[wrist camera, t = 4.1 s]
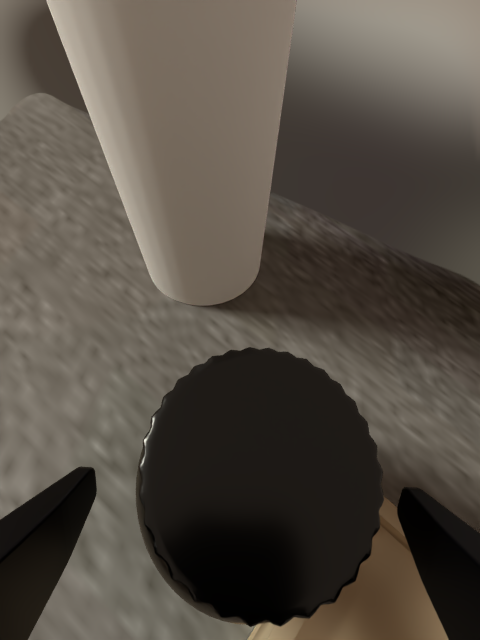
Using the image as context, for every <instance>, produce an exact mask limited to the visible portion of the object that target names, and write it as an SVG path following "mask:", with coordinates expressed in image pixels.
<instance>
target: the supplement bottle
mask: <svg viewBox="0 0 480 640" xmlns="http://www.w3.org/2000/svg"><path fill="white" fill-rule="evenodd" d="M382 474H383V471H382V468H381V466H380V464H379V462H378V460H377V445H376V444H375V442H374V440H373V439H372V438H371V436H370V435H369V428H368V423H367V421H366V420H365V419H364V418H363V417H362V416H361V415H360V414H359V412H358V409H357V406H356V403H355V401H354V400H353V399H351V398H350V397H349V396H347V395H346V394H345V392H344V390H343V388H342V386H341V384H339V383H338V382H336V381H334V380H332V379H330V377H329V376H328V374H327V373H326V372H325V371H324V370H323V369H320V368H317V367H314V366H313V365H312V364H311V363H310V362H309V361H308V360H307V359H303V358H296V357H295V356H293V355H292V354H290V353H289V352H277V351H275V350H273V349H270V348H265V349H261V350H258V349H255V348H251V347H249V348H246V349H244V350H241V351H237V350H230V351H228V352H226V353H225V354H224V355H220V356H212V357H211V358H210V359H208V361H207V362H206V363H204V364H200V365H197V366H194V367H193V369H192V370H191V372H190V373H189V375H187V376H184V377H182V378H180V379H179V380H178V381H177V383H176V385H175V387H174V389H173V390H172V391H170V392H169V393H168V394H166V395H165V396H164V397H163V400H162V405H161V408H160V409H159V410H158V411H156V412H155V414H154V415H153V416H152V418H151V428H150V431H149V432H148V433H147V434H146V436H145V438H144V440H143V449H142V452H141V456H140V460H139V464H138V471H137V478H136V507H137V515H138V521H139V525H140V530H141V533H142V537H143V540H144V543H145V546H146V548H147V550H148V553H149V555H150V557H151V559H152V561H153V563H154V564H155V566H156V568H157V570H158V571H159V573H160V574H161V576H162V577H163V578H164V580H165V581H166V582H167V584H168V585H169V586H170V587H171V588H172V589H173V590H174V591H175V593H177V594H178V595H179V596H180V597H181V598H182V599H183V600H184V601H186V602H187V603H188V604H190V605H191V606H193V607H194V608H196V609H197V610H199V611H201V612H203V613H205V614H206V615H208V616H211V617H213V618H216V619H219V620H222V621H226V622H230V623H235V624H246V625H248V626H250V627H251V626H254V625H258V624H265V623H272V624H273V625H276V626H279V627H281V626H283V625H285V624H286V623H288V622H289V621H290V620H291V619H293V618H294V617H297V618H305V619H310V618H311V617H312V616H313V615H314V613H315V612H316V611H317V610H318V608H319V607H320V606H321V605H324V604H327V605H329V604H333V603H335V602H336V600H337V599H338V597H339V595H340V593H341V591H342V588H343V587H345V586H348V585H350V584H352V583H353V582H355V581H356V579H357V576H358V573H359V568H360V564H361V563H362V562H364V561H365V560H367V559H368V558H369V557H370V556H371V550H372V538H373V537H374V535H375V534H376V533H377V532H378V530H379V529H380V516H379V510H380V508H381V506H382V504H383V501H384V496H383V491H382V488H381V485H380V484H381V480H382Z"/></svg>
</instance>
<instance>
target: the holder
mask: <svg viewBox="0 0 480 640" xmlns="http://www.w3.org/2000/svg"><path fill="white" fill-rule="evenodd" d="M379 516H380V529H379V530H378V532H377V533H376V534H375V535H374V537H373V538H372V550H371V556H370V557H369V558H368V559H367V560H365V561H364V562H362V563H361V564H360V568H359V573H358V576H357V579H356V581H355V582H353V583H352V584H350V585H348V586H345V587H343V588H342V591H341V593H340V595H339V597H338V599H337V600H336V602H335V603H333V604H329V605H327V604H324V605H321V606H320V607H319V608H318V610H317V611H316V612H315V613H314V615H313V616H312V617H311V618H310V619H305V618H297V617H294V618H293V619H291V620H290V621H289V622H288V623H286V624H285V625H283V626H281V627H279V626H276V625H273V624H272V623H265V624H258V625H256V626H255V628H254V630H253V631H252V633H251V635H250V636H249V638H248V640H449V639H448V637H447V635H446V633H445V630H444V628H443V626H442V624H441V622H440V620H439V618H438V615H437V613H436V611H435V609H434V607H433V605H432V603H431V600H430V598H429V596H428V594H427V592H426V589H425V587H424V585H423V583H422V580H421V578H420V575H419V573H418V570H417V567H416V565H415V562H414V559H413V557H412V554H411V551H410V548H409V546H408V543H407V540H406V538H405V535H404V532H403V530H402V527H401V524H400V522H399V519H398V515H397V507H396V506H395V505H393V504H392V503H391V502H390V501H389V500H388V499H387V498H385V497H384V501H383V504H382V506H381V508H380V510H379Z"/></svg>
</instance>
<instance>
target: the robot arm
mask: <svg viewBox="0 0 480 640" xmlns="http://www.w3.org/2000/svg"><path fill="white" fill-rule="evenodd" d="M96 491H97V488H96V477H95V470H94V468H92V467H78V468H76V469H75V470H73V471H72V472H70V473H69V474H67V475H66V476H64V477H63V478H61V479H60V480H58V481H57V482H55V483H54V484H52V485H51V486H50V487H48V488H47V489H45V490H44V491H42V492H41V493H39V494H38V495H36V496H35V497H33V498H32V499H30V500H29V501H27V502H26V503H24V504H23V505H21V506H20V507H18V508H17V509H15V510H14V511H12V512H11V513H10V514H8V515H7V516H5V517H4V518H2V519H1V520H0V640H28V638H29V636H30V634H31V632H32V630H33V628H34V626H35V625H36V623H37V621H38V619H39V617H40V615H41V613H42V611H43V609H44V607H45V605H46V604H47V602H48V600H49V598H50V596H51V594H52V592H53V590H54V588H55V586H56V584H57V583H58V581H59V579H60V577H61V575H62V573H63V571H64V569H65V567H66V565H67V563H68V561H69V559H70V557H71V554H72V552H73V550H74V547H75V545H76V543H77V540H78V538H79V535H80V533H81V531H82V528H83V526H84V524H85V521H86V519H87V516H88V514H89V512H90V509H91V507H92V505H93V502H94V500H95V497H96ZM397 515H398V519H399V522H400V524H401V527H402V530H403V532H404V535H405V538H406V540H407V543H408V546H409V548H410V551H411V554H412V557H413V559H414V562H415V565H416V567H417V570H418V573H419V575H420V578H421V580H422V583H423V585H424V587H425V589H426V592H427V594H428V596H429V598H430V600H431V603H432V605H433V607H434V609H435V611H436V613H437V615H438V618H439V620H440V622H441V624H442V626H443V628H444V630H445V633H446V635H447V637H448V639H449V640H480V533H478V532H477V531H476V530H474V529H473V528H472V527H470V526H469V525H468V524H466V523H465V522H464V521H462V520H461V519H460V518H458V517H457V516H456V515H454V514H453V513H452V512H450V511H449V510H448V509H446V508H445V507H444V506H442V505H441V504H440V503H438V502H437V501H436V500H434V499H433V498H432V497H430V496H429V495H428V494H427V493H425V492H424V491H423V490H421V489H419V488H415V487H404V488H403V489H402V492H401V496H400V500H399V503H398V507H397Z"/></svg>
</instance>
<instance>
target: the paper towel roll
mask: <svg viewBox="0 0 480 640" xmlns="http://www.w3.org/2000/svg"><path fill="white" fill-rule="evenodd" d="M46 1H47V4H48V6H49V9H50V11H51V14H52V17H53V19H54V22H55V25H56V27H57V30H58V33H59V35H60V38H61V40H62V43H63V46H64V48H65V51H66V54H67V56H68V59H69V62H70V64H71V67H72V70H73V72H74V75H75V78H76V80H77V83H78V85H79V88H80V91H81V93H82V96H83V99H84V101H85V104H86V107H87V109H88V112H89V115H90V117H91V120H92V123H93V125H94V128H95V131H96V133H97V136H98V138H99V141H100V144H101V146H102V149H103V152H104V154H105V157H106V160H107V162H108V165H109V168H110V170H111V173H112V176H113V178H114V181H115V183H116V186H117V189H118V191H119V194H120V197H121V199H122V202H123V205H124V207H125V210H126V213H127V215H128V218H129V221H130V223H131V226H132V228H133V231H134V234H135V236H136V239H137V242H138V244H139V247H140V250H141V252H142V255H143V258H144V260H145V263H146V266H147V268H148V271H149V273H150V276H151V279H152V281H153V282H154V284H155V285H156V287H157V288H158V289H159V290H160V291H161V292H162V293H164V294H165V295H166V296H168V297H170V298H172V299H174V300H176V301H178V302H181V303H185V304H189V305H197V306H207V305H215V304H220V303H224V302H227V301H229V300H232V299H234V298H236V297H237V296H239V295H241V294H242V293H244V292H245V291H246V290H247V289H248V288H249V287H250V286H251V285H252V283H253V282H254V281H255V279H256V277H257V275H258V272H259V267H260V260H261V253H262V246H263V239H264V232H265V224H266V217H267V210H268V203H269V196H270V188H271V181H272V174H273V167H274V159H275V152H276V145H277V138H278V131H279V124H280V117H281V108H282V102H283V95H284V88H285V81H286V73H287V66H288V59H289V52H290V45H291V38H292V30H293V23H294V16H295V8H296V2H297V0H46Z"/></svg>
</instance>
